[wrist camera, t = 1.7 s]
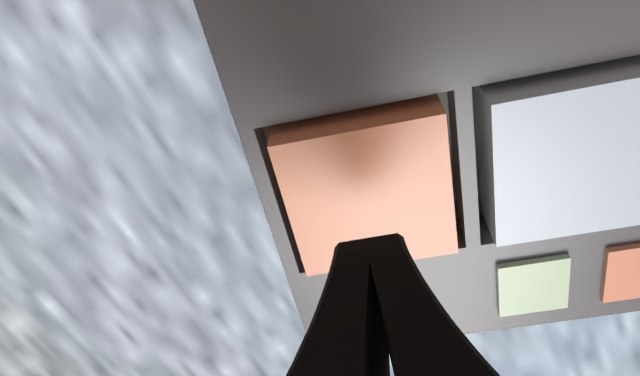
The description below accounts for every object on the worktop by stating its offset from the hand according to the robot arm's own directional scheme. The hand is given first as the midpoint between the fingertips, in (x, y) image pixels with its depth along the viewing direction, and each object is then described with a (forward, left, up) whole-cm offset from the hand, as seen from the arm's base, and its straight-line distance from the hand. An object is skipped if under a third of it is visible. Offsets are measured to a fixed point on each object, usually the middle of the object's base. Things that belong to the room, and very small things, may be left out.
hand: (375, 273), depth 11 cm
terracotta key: (0, 0, -5) cm, 5 cm away
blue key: (-5, 0, -5) cm, 7 cm away
